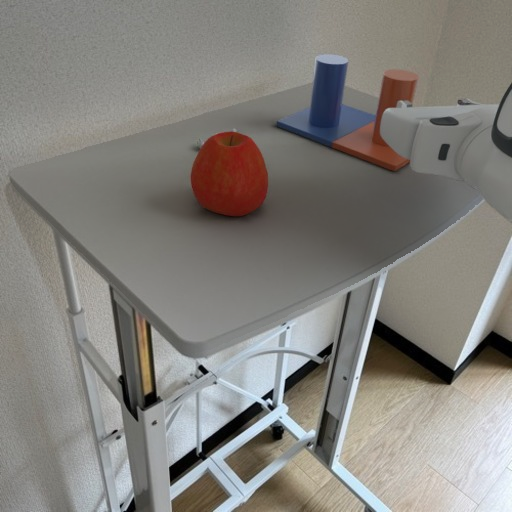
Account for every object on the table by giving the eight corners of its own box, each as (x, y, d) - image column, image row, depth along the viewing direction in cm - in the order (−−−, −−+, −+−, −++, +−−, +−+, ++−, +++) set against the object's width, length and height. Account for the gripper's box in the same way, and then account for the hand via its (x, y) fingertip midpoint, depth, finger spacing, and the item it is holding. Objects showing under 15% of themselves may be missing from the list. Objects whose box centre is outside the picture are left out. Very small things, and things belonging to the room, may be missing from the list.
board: (440, 142, 96) (441, 137, 95) (394, 171, 86) (396, 166, 85) (327, 104, 108) (328, 99, 108) (276, 126, 98) (276, 120, 98)
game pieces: (200, 152, 88) (200, 140, 87) (193, 147, 89) (193, 136, 88) (240, 141, 92) (241, 130, 91) (233, 136, 94) (233, 125, 92)
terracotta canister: (409, 140, 94) (424, 75, 87) (393, 149, 90) (408, 83, 84) (381, 130, 96) (394, 67, 90) (365, 139, 93) (376, 74, 87)
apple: (187, 224, 71) (185, 149, 65) (195, 185, 79) (194, 115, 73) (266, 228, 71) (272, 153, 65) (266, 189, 79) (271, 120, 73)
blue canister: (345, 122, 99) (354, 59, 92) (327, 130, 95) (336, 66, 89) (320, 113, 101) (327, 52, 95) (302, 121, 98) (308, 58, 91)
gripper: (564, 118, 68) (502, 81, 79) (413, 125, 64) (369, 84, 75) (546, 164, 72) (489, 122, 83) (402, 173, 68) (362, 128, 79)
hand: (431, 104), depth 79 cm, fingers open, 8 cm apart
